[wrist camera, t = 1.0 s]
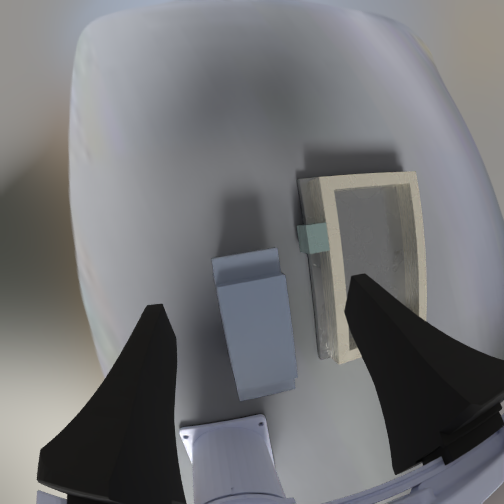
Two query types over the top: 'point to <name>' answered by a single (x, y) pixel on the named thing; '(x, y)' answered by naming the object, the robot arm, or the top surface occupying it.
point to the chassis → (361, 247)
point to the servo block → (256, 322)
